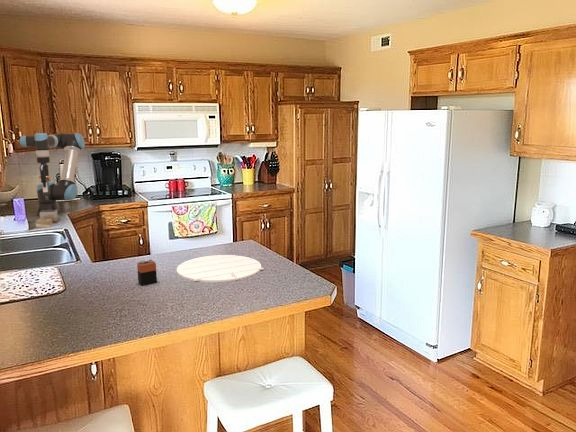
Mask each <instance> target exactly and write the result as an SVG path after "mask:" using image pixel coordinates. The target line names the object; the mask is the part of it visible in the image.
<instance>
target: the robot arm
mask: <svg viewBox="0 0 576 432" xmlns="http://www.w3.org/2000/svg"><path fill="white" fill-rule="evenodd" d="M85 143H86V142H85V138H84V136H83V135H82V134H81V133H77V132H75V133H70V132H69V133H67V132H66V133H64V132H62V133H54V134H49V135H48V133H46V132H37V133H34V135H21V136H20V138H19V144H20V146H21V147H24V148H35V154H36V163H37V164H40V165H39V173H40V175H39V176H41V178H40V183H39V184H37V186H36V192H37V193H36V194H37V202H38V204H37V205H38V206H37V208H36V209H37V210H36V216H38V217H40V212H41V211H42V210H57V214H58V215H60V213H61V212H60V208H59V207H58V204H57V201H73V200H75V199H76V198H77V195H78V185H76V182H75V181H74V180H75V174H76V170H77V169H76V168H77V163H78V157H79V154H80V153H81V151H82V150H83V149H85V146H86V144H85ZM49 148H54V149H64V151H65V155H64V160H63V165H62V171H61V177H60V179H59V180H58V181H57V184H56V183H55V182H54V181H52V182H50V181H51V180H50V178H48V179H49V190H50V195H48V198H49V200H46V198H45V195H43V192H48V188H47V182H46V176H50V172H49V171H50V170H49V165H48V164H49V163H50V162H51V159H50V150H49ZM42 185H43V186H42Z"/></svg>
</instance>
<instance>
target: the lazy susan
mask: <svg viewBox="0 0 576 432" xmlns="http://www.w3.org/2000/svg"><path fill="white" fill-rule="evenodd" d="M263 270H265V269H264V267H263V266H262V264H261V263H260V261H259V260H257V259H255V258H251V257H248V256H243V255H235V254H234V255H233V254H216V255H215V254H214V255H207V256H200V257H196V258H191V259H189V260H186V261H183V262H182V263H180V264H179V265H178V266H176V274H178V276H179V277H181V278H183V279H186V280H190V281H194V282H201V283H224V282H226V281H227V282H234V280H235V281H240V280H243V278H244V279H247V277H248V278H250V276H251V277H253V276H255V275H256V273H257V274H258V273H260V271H263ZM239 279H240V280H239ZM227 282H226V283H227Z"/></svg>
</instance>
